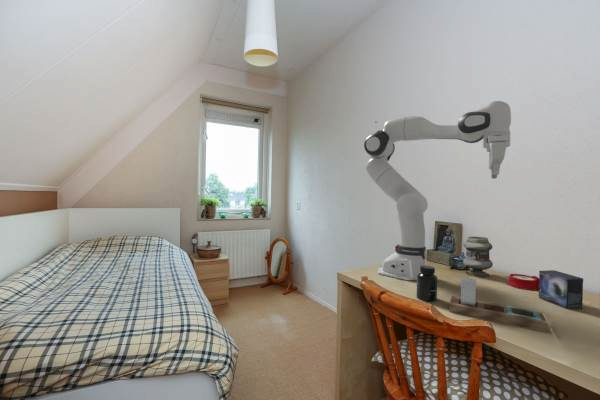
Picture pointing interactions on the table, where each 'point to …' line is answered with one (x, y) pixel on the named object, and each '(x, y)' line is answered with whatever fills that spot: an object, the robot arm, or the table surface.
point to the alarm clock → (523, 281)
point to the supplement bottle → (427, 284)
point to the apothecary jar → (477, 256)
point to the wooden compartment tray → (501, 314)
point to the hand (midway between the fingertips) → (495, 176)
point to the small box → (561, 289)
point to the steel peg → (468, 291)
